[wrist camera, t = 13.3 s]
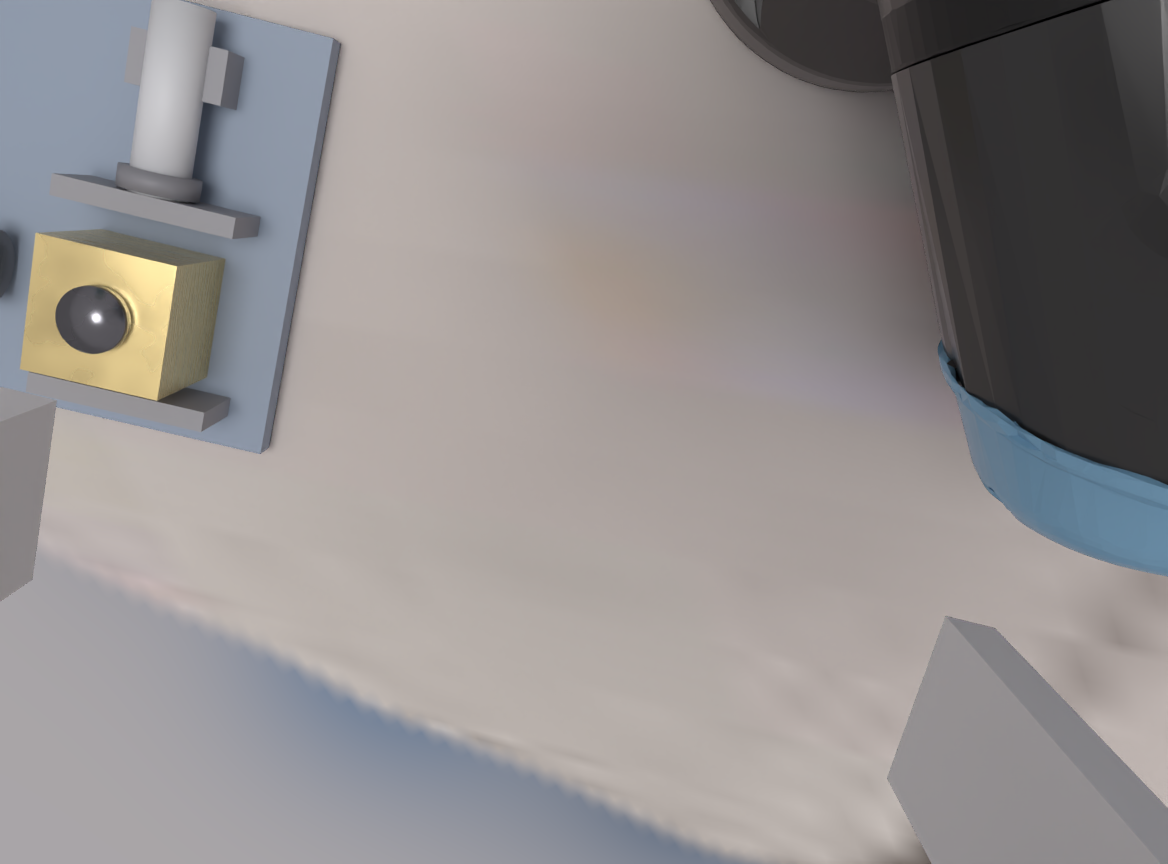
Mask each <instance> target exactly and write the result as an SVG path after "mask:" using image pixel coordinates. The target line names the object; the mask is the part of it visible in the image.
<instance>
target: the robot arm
mask: <svg viewBox="0 0 1168 864" xmlns="http://www.w3.org/2000/svg"><path fill="white" fill-rule="evenodd" d="M710 1H711V2H712V4H713V5H714V7H715V8H716V10H717V12H718V13H719V15H720V16H721V17H722V19H723V20H724V21H725V23H726V24H727V25H728V26H729V27H730V29H731V30H732V31H733V32H734V33H735V34H736V35H737V37H739V38H740V39H741V40H742V41H743V42H744V43H745V44H746V45H747V46H748V47H749V48H750V49H751V50H753V51H754V52H755V53H756V54H757V55H759V56H760V57H761V58H763V59H764V60H766V61H767V62H769V63H770V64H772V65H773V66H775V67H777V68H778V69H780V70H782V71H784V72H786V73H788V74H790V75H792V76H794V77H796V78H799V79H801V80H804V81H806V82H809V83H812V84H816V85H819V86H823V87H827V88H832V89H837V90H845V91H857V92H875V91H886V90H894V95H895V100H896V106H897V111H898V116H899V121H900V126H901V131H902V137H903V142H904V147H905V152H906V157H907V162H908V168H909V173H910V178H911V183H912V188H913V194H914V199H915V204H916V209H917V214H918V219H919V225H920V230H921V235H922V240H923V245H924V251H925V256H926V261H927V266H928V271H929V276H930V282H931V287H932V292H933V297H934V302H935V307H936V313H937V318H938V323H939V328H940V333H941V341H940V343H939V346H938V355H939V361H940V367H941V370H942V372H943V375H944V377H945V380H946V382H947V383H948V385H949V386H950V387H951V389H952V390H953V392H954V393H955V395H956V398H957V402H958V406H959V410H960V414H961V418H962V422H963V426H964V430H965V434H966V438H967V442H968V446H969V450H970V454H971V458H972V461H973V464H974V467H975V469H976V471H977V473H978V475H979V477H980V479H981V481H982V482H983V484H984V486H985V487H986V489H987V490H988V491H989V492H990V493H991V494H992V495H993V496H994V497H996V498H997V499H998V500H999V501H1001V502H1002V503H1003V504H1004V505H1005V507H1006V508H1007V509H1008V510H1009V511H1011V513H1012V514H1013V515H1014V516H1015V518H1016V519H1018V520H1019V521H1020V522H1022V523H1023V524H1024V525H1026V526H1027V527H1029V528H1030V529H1032V530H1034V531H1035V532H1037V533H1039V534H1041V535H1043V536H1044V537H1046V538H1048V539H1050V540H1052V541H1054V542H1056V543H1058V544H1060V545H1062V546H1065V547H1067V548H1069V549H1072V550H1074V551H1077V552H1079V553H1082V554H1084V555H1087V556H1090V557H1093V558H1096V559H1098V560H1102V561H1105V562H1108V563H1111V564H1115V565H1119V566H1122V567H1126V568H1130V569H1134V570H1139V571H1143V572H1147V573H1152V574H1157V575H1162V576H1168V0H710ZM56 403H57V400H54V399H49V398H45V397H41V396H37V395H33V394H29V393H25V392H21V391H16V390H12V389H8V388H4V387H1V388H0V601H2V600H3V599H5V598H6V597H8V596H9V595H11V594H12V593H13V592H15V591H16V590H18V589H19V588H21V587H22V586H24V585H25V584H27V583H28V582H29V581H31V580H32V578H33V570H34V564H35V557H36V549H37V542H38V535H39V527H40V520H41V513H42V505H43V498H44V491H45V484H46V476H47V469H48V462H49V454H50V447H51V440H52V432H53V425H54V418H55V410H56ZM887 779H888V781H889V783H890V785H891V787H892V789H893V791H894V793H895V794H896V796H897V798H898V800H899V802H900V804H901V806H902V808H903V810H904V812H905V814H906V815H907V817H908V819H909V821H910V823H911V825H912V827H913V829H914V831H915V833H916V835H917V837H918V838H919V840H920V842H921V844H922V846H923V848H924V850H925V852H926V854H927V856H928V858H929V859H930V861H931V863H932V864H1168V808H1167V807H1166V806H1165V805H1164V804H1163V803H1162V802H1161V801H1160V799H1159V798H1158V797H1157V796H1156V795H1155V794H1154V793H1153V792H1152V791H1151V790H1150V789H1149V788H1148V787H1147V786H1146V785H1145V784H1144V783H1143V782H1142V781H1141V780H1140V779H1139V778H1138V777H1137V776H1136V774H1135V773H1134V772H1133V771H1132V770H1131V769H1130V768H1129V767H1128V766H1127V765H1126V764H1125V763H1124V762H1123V761H1122V760H1121V759H1120V758H1119V757H1118V756H1117V755H1116V754H1115V753H1114V752H1113V751H1112V749H1111V748H1110V747H1109V746H1108V745H1107V744H1106V743H1105V742H1104V741H1103V740H1102V739H1101V738H1100V737H1099V736H1098V735H1097V734H1096V733H1095V732H1094V731H1093V730H1092V729H1091V728H1090V727H1089V726H1088V724H1087V723H1086V722H1085V721H1084V720H1083V719H1082V718H1081V717H1080V716H1079V715H1078V714H1077V713H1076V712H1075V711H1074V710H1073V709H1072V708H1071V707H1070V706H1069V705H1068V704H1067V703H1066V702H1065V701H1064V699H1063V698H1062V697H1061V696H1060V695H1059V694H1058V693H1057V692H1056V691H1055V690H1054V689H1053V688H1052V687H1051V686H1050V685H1049V684H1048V683H1047V682H1046V681H1045V680H1044V679H1043V678H1042V677H1041V676H1040V674H1039V673H1038V672H1037V671H1036V670H1035V669H1034V668H1033V667H1032V666H1031V665H1030V664H1029V663H1028V662H1027V661H1026V660H1025V659H1024V658H1023V657H1022V656H1021V655H1020V654H1019V653H1018V652H1017V651H1016V649H1015V648H1014V647H1013V646H1012V645H1011V644H1010V643H1009V642H1008V641H1007V640H1006V639H1005V638H1004V637H1003V636H1002V635H1001V634H1000V633H999V632H998V631H997V630H996V629H995V628H993V627H989V626H985V625H981V624H977V623H972V622H968V621H964V620H960V619H956V618H952V617H948V616H945V619H944V622H943V625H942V628H941V630H940V633H939V636H938V639H937V641H936V644H935V647H934V650H933V652H932V655H931V658H930V661H929V663H928V666H927V669H926V672H925V674H924V677H923V680H922V683H921V685H920V688H919V691H918V694H917V697H916V699H915V702H914V705H913V708H912V710H911V713H910V716H909V719H908V721H907V724H906V727H905V730H904V732H903V735H902V738H901V741H900V743H899V746H898V749H897V752H896V755H895V757H894V760H893V763H892V766H891V768H890V771H889V774H888V777H887Z"/></svg>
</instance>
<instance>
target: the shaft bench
mask: <svg viewBox="0 0 1168 864" xmlns="http://www.w3.org/2000/svg"><path fill="white" fill-rule="evenodd" d="M340 44H341V43H339V42H338V41H336V40H335V39H333V38H329V37H325V36H322V35H318V34H314V33H310V32H306V31H302V30H298V29H294V28H290V27H286V26H282V25H279V24H275V23H271V22H267V21H263V20H259V19H255V18H251V17H247V16H243V15H239V14H236V13H232V12H228V11H224V10H220V9H216V8H212V7H208V6H204V5H200V4H196V3H193V2H189V1H185V0H0V388H1V387H4V388H8V389H12V390H16V391H21V392H25V393H29V394H33V395H37V396H41V397H45V398H49V399H54V400H57V403H56V407H58V408H62V409H67V410H71V411H75V412H80V413H84V414H89V415H93V416H97V417H102V418H106V419H110V420H115V421H119V422H123V423H128V424H132V425H136V426H141V427H145V428H149V429H154V430H158V431H162V432H167V433H171V434H175V435H180V436H184V437H189V438H193V439H197V440H202V441H206V442H210V443H215V444H219V445H223V446H228V447H232V448H236V449H241V450H245V451H249V452H254V453H258V454H261V453H262V452H264V451H265V450H266V449H267V448H269V444H270V439H271V433H272V427H273V422H274V416H275V410H276V405H277V399H278V393H279V388H280V382H281V377H282V371H283V365H284V360H285V354H286V348H287V343H288V337H289V331H290V326H291V320H292V314H293V309H294V303H295V298H296V292H297V286H298V281H299V275H300V269H301V264H302V258H303V252H304V247H305V241H306V235H307V230H308V224H309V219H310V213H311V207H312V202H313V196H314V190H315V185H316V179H317V173H318V168H319V162H320V156H321V151H322V145H323V140H324V134H325V128H326V123H327V117H328V111H329V106H330V100H331V94H332V89H333V83H334V78H335V72H336V66H337V61H338V55H339V49H340ZM94 229H104V230H108V231H112V232H116V233H121V234H125V235H129V236H133V237H137V238H142V239H146V240H150V241H154V242H158V243H162V244H167V245H171V246H175V247H179V248H183V249H187V250H192V251H196V252H200V253H204V254H208V255H212V256H217V257H221V258H225V259H226V261H225V267H224V273H223V279H222V286H221V292H220V298H219V305H218V311H217V317H216V324H215V330H214V336H213V342H212V349H211V355H210V361H209V368H208V374H207V378H205V379H202V380H200V381H198V382H196V383H194V384H192V385H190V386H188V387H185V388H183V389H181V390H179V391H177V392H175V393H173V394H170V395H168V396H166V397H164V398H162V399H160V400H158V401H156V400H151V399H147V398H143V397H138V396H134V395H130V394H125V393H121V392H117V391H112V390H108V389H104V388H99V387H95V386H91V385H86V384H82V383H78V382H73V381H69V380H65V379H60V378H56V377H52V376H47V375H43V374H39V373H34V372H30V371H26V370H21V369H20V363H21V355H22V346H23V337H24V329H25V320H26V312H27V303H28V294H29V286H30V277H31V268H32V260H33V251H34V243H35V234H36V233H39V232H57V231H76V230H94Z"/></svg>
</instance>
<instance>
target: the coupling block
mask: <svg viewBox="0 0 1168 864" xmlns="http://www.w3.org/2000/svg"><path fill="white" fill-rule="evenodd" d="M225 261H226V259H225V258H221V257H217V256H212V255H208V254H204V253H200V252H196V251H192V250H187V249H183V248H179V247H175V246H171V245H167V244H162V243H158V242H154V241H150V240H146V239H142V238H137V237H133V236H129V235H125V234H121V233H116V232H112V231H108V230H104V229H94V230H76V231H57V232H39V233H36V234H35V243H34V251H33V260H32V268H31V277H30V286H29V294H28V303H27V312H26V320H25V329H24V337H23V346H22V355H21V363H20V369H21V370H26V371H30V372H34V373H39V374H43V375H47V376H52V377H56V378H60V379H65V380H69V381H73V382H78V383H82V384H86V385H91V386H95V387H99V388H104V389H108V390H112V391H117V392H121V393H125V394H130V395H134V396H138V397H143V398H147V399H151V400H156V401H158V400H160V399H162V398H164V397H166V396H168V395H170V394H173V393H175V392H177V391H179V390H181V389H183V388H185V387H188V386H190V385H192V384H194V383H196V382H198V381H200V380H202V379H205V378H207V374H208V368H209V361H210V355H211V349H212V342H213V336H214V330H215V324H216V317H217V311H218V305H219V298H220V292H221V286H222V279H223V273H224V267H225Z"/></svg>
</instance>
